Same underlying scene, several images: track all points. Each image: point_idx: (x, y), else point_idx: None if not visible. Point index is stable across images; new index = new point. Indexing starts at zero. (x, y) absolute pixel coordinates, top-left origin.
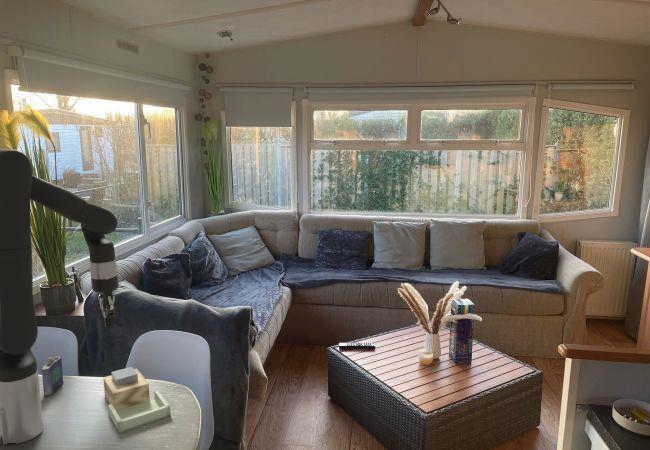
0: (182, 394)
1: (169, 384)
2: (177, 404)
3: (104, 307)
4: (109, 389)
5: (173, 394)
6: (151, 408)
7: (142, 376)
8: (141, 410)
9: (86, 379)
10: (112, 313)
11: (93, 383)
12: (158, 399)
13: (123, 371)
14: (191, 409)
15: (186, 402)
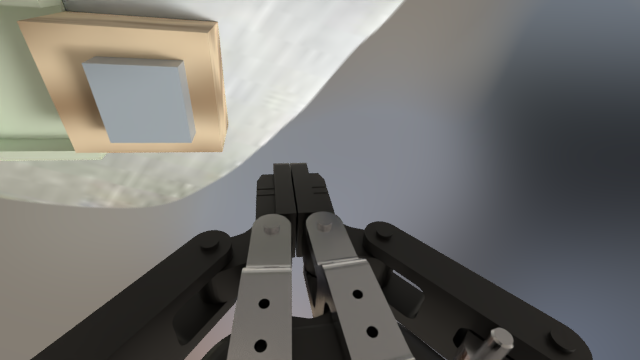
0: (117, 196)
1: (192, 187)
2: (61, 174)
3: (322, 296)
4: (97, 24)
5: (127, 181)
6: (44, 115)
7: (145, 150)
8: (38, 88)
9: (374, 4)
10: (201, 298)
11: (329, 16)
12: (60, 146)
13: (160, 107)
14: (18, 193)
15: (65, 193)
